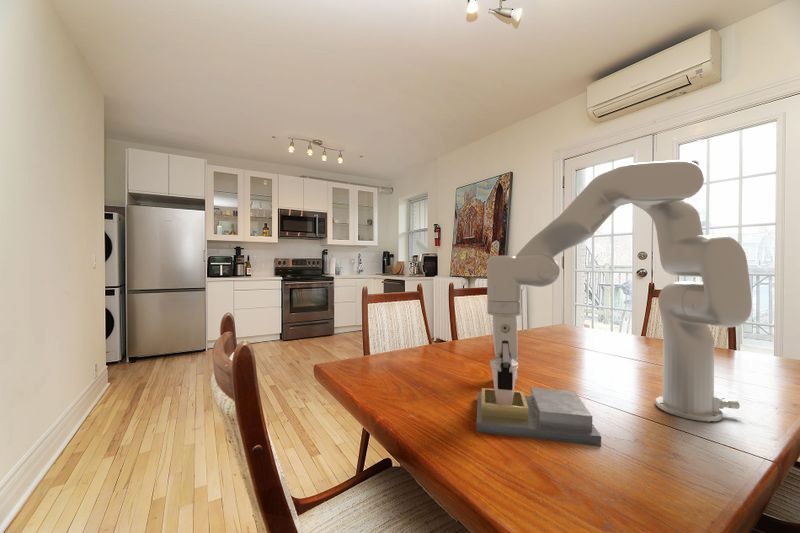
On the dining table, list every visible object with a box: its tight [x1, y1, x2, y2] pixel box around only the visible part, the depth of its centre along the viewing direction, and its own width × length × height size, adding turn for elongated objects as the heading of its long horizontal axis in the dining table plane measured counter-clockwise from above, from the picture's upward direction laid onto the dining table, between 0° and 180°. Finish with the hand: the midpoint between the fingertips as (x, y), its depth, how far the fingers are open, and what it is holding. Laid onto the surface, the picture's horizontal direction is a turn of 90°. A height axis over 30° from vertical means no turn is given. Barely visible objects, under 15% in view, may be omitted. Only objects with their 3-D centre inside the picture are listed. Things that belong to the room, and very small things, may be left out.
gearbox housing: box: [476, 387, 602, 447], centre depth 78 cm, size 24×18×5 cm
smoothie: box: [489, 357, 519, 405], centre depth 79 cm, size 6×6×14 cm
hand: (504, 383), depth 79 cm, fingers closed on smoothie, 5 cm apart
